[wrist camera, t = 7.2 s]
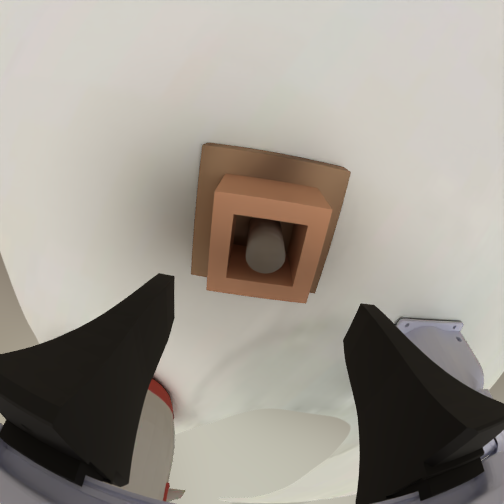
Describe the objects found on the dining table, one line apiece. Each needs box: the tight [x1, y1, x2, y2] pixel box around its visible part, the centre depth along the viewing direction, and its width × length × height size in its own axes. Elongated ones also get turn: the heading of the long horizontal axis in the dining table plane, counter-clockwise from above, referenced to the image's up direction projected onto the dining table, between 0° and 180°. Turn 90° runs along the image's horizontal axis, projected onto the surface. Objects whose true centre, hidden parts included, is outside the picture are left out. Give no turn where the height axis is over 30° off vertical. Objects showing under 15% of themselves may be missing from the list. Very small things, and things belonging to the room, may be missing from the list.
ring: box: [207, 174, 332, 303], centre depth 16 cm, size 6×6×4 cm
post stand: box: [191, 143, 351, 293], centre depth 17 cm, size 9×9×6 cm
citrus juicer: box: [104, 379, 185, 502], centre depth 21 cm, size 16×17×20 cm
